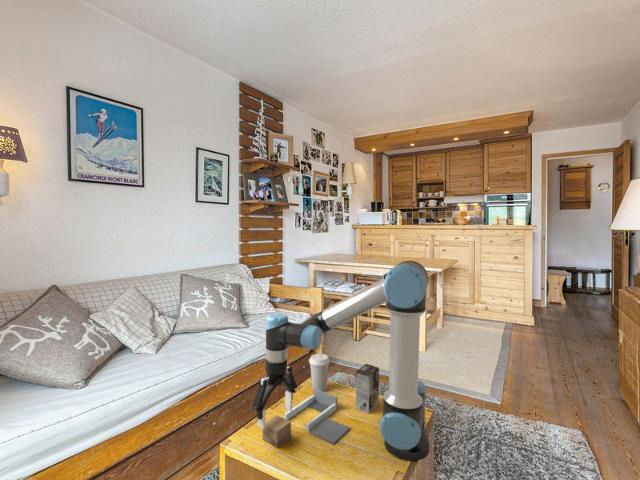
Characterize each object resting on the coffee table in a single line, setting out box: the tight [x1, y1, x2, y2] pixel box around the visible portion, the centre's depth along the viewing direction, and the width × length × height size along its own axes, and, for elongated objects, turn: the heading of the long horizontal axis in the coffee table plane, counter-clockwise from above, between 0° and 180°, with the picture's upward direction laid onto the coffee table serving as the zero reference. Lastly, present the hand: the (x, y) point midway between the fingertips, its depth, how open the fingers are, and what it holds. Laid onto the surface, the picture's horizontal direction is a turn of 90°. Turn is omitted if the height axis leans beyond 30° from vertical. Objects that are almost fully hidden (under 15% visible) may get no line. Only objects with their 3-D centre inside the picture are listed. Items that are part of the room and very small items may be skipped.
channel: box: [283, 389, 338, 432], centre depth 137 cm, size 12×19×5 cm, turn 143°
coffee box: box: [355, 363, 380, 414], centre depth 143 cm, size 9×6×16 cm
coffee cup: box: [308, 353, 331, 392], centre depth 158 cm, size 10×10×15 cm
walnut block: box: [262, 414, 292, 449], centre depth 121 cm, size 7×7×6 cm
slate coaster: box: [308, 417, 351, 445], centre depth 126 cm, size 11×11×1 cm
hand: (275, 417), depth 121 cm, fingers open, 13 cm apart
